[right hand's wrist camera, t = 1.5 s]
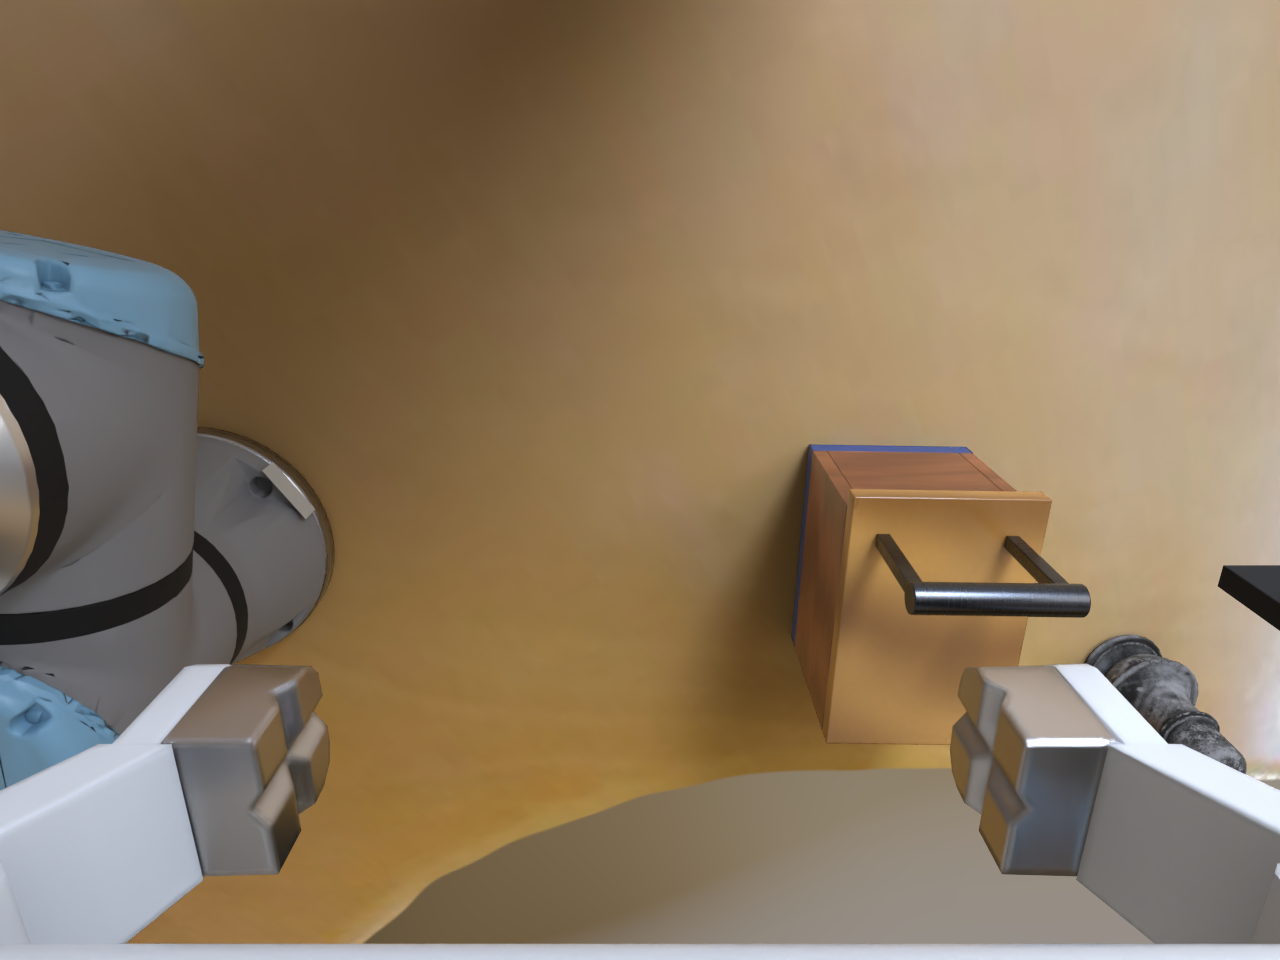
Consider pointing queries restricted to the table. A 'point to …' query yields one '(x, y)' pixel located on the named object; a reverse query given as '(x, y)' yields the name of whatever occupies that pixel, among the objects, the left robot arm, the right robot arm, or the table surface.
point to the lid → (933, 606)
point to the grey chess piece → (1163, 696)
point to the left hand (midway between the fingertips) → (1210, 746)
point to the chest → (825, 527)
